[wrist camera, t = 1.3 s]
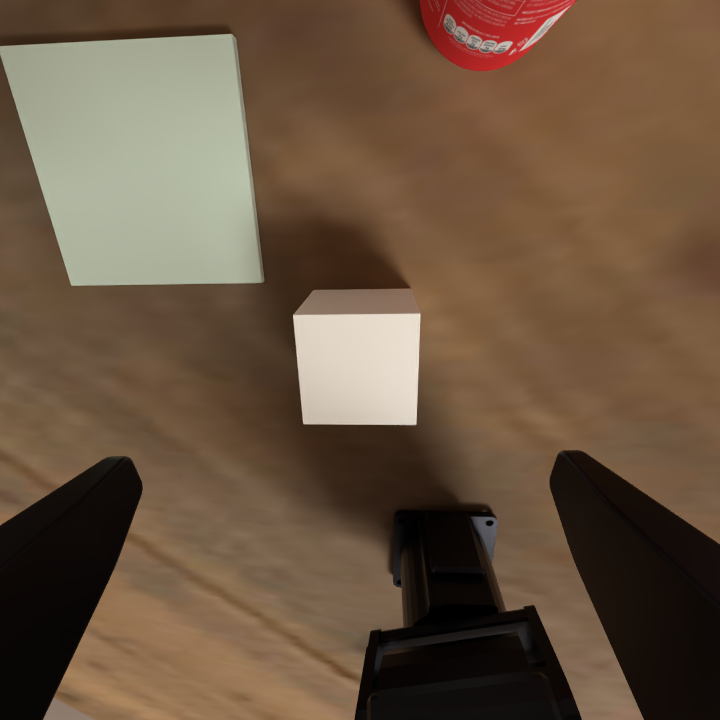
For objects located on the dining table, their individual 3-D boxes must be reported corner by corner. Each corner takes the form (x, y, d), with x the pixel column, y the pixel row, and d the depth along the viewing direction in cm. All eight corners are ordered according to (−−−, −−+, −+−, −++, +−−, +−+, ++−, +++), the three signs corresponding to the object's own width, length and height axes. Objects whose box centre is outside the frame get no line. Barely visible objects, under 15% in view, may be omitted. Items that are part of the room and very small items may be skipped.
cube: (408, 377, 21) (416, 424, 17) (320, 377, 22) (303, 424, 17) (411, 288, 19) (420, 313, 15) (314, 289, 20) (293, 315, 15)
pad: (264, 280, 19) (261, 282, 19) (78, 283, 20) (71, 285, 20) (236, 39, 16) (231, 33, 15) (8, 50, 16) (-3, 46, 16)
